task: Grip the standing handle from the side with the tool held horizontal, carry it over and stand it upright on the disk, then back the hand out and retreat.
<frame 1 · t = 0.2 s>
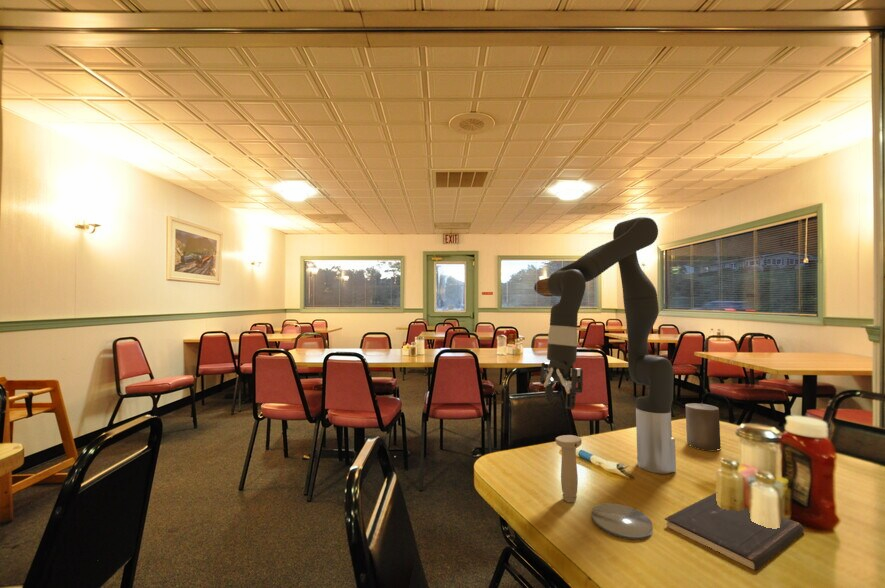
hand: (558, 405, 96), 22 cm above the table, tool pointing down, fingers open, 8 cm apart
disk: (621, 523, 81), on the table
hardcover book: (733, 533, 78), on the table
pillar candle: (703, 446, 127), on the table
handle: (569, 500, 91), on the table
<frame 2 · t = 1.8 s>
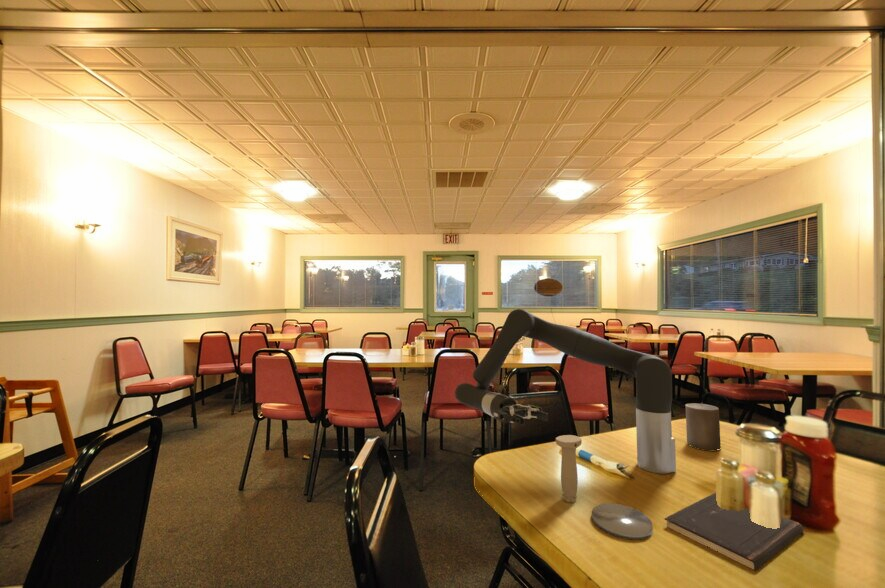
hand: (536, 419, 101), 17 cm above the table, tool horizontal, fingers open, 8 cm apart
nothing on the table moved.
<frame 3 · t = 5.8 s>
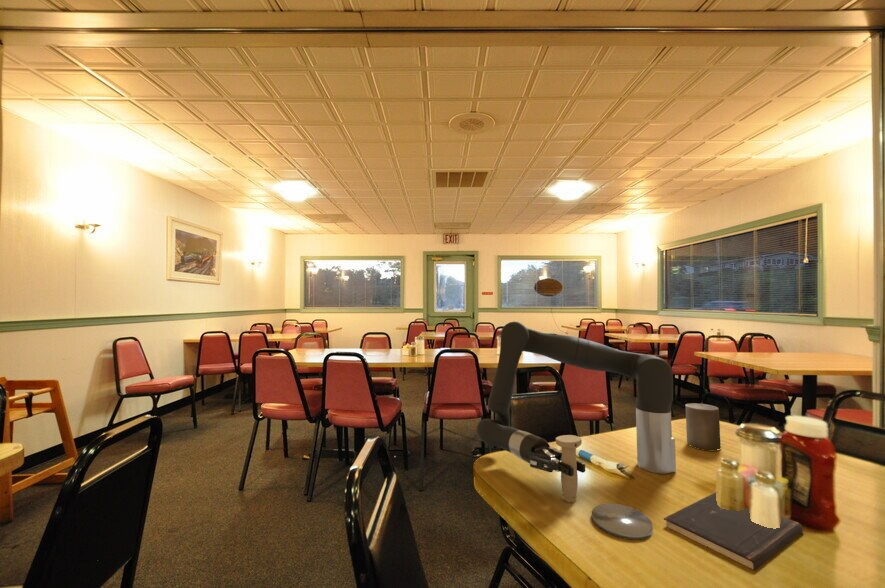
hand: (578, 470, 89), 8 cm above the table, tool horizontal, fingers closed on handle, 3 cm apart
handle: (569, 500, 91), on the table, touching gripper
everything else where it was.
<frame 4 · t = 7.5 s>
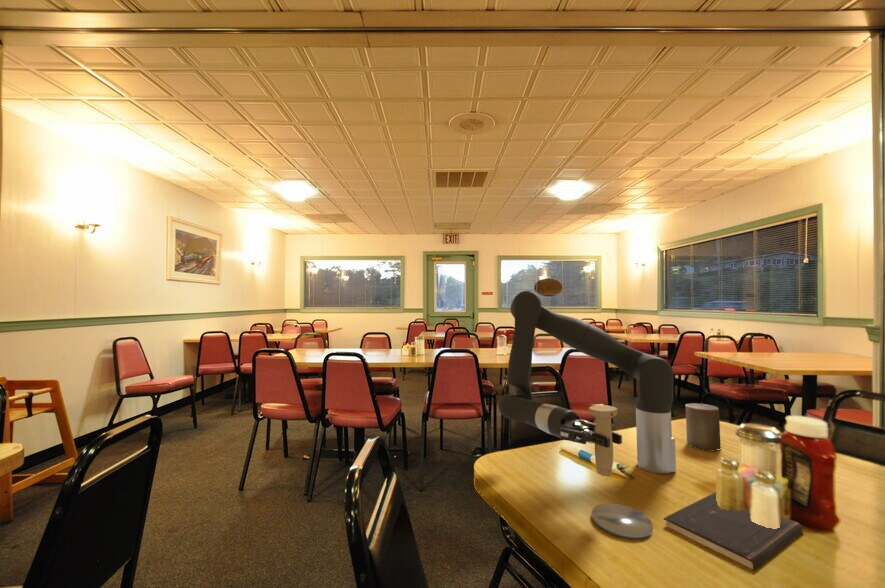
hand: (614, 441, 82), 18 cm above the table, tool horizontal, fingers closed on handle, 3 cm apart
handle: (604, 474, 84), point 9 cm above the table, touching gripper
everything else where it was.
when the fingers open (11 cm above the table, at t = 9.4 s): handle drops 1 cm, resting on disk.
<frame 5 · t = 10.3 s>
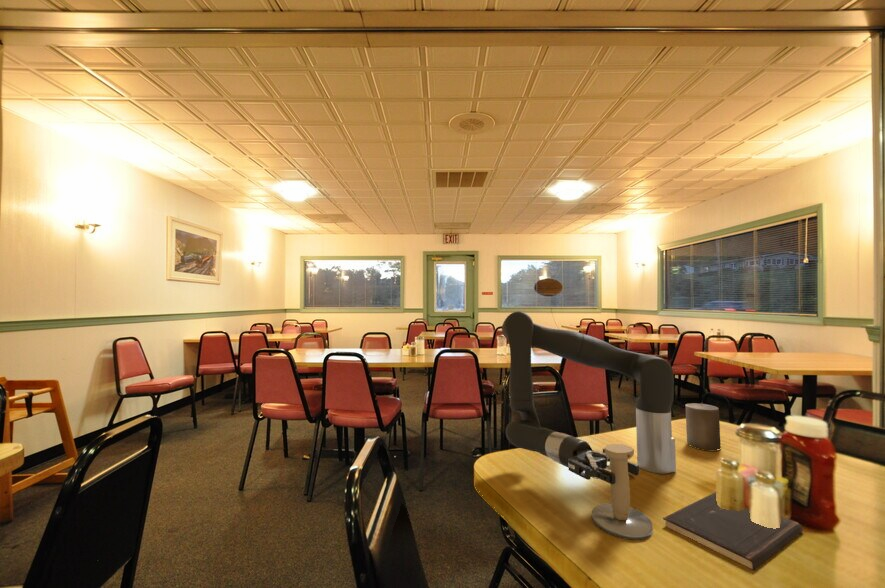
hand: (626, 475, 80), 11 cm above the table, tool horizontal, fingers open, 8 cm apart
handle: (620, 518, 81), point 1 cm above the table, touching disk
everything else where it was.
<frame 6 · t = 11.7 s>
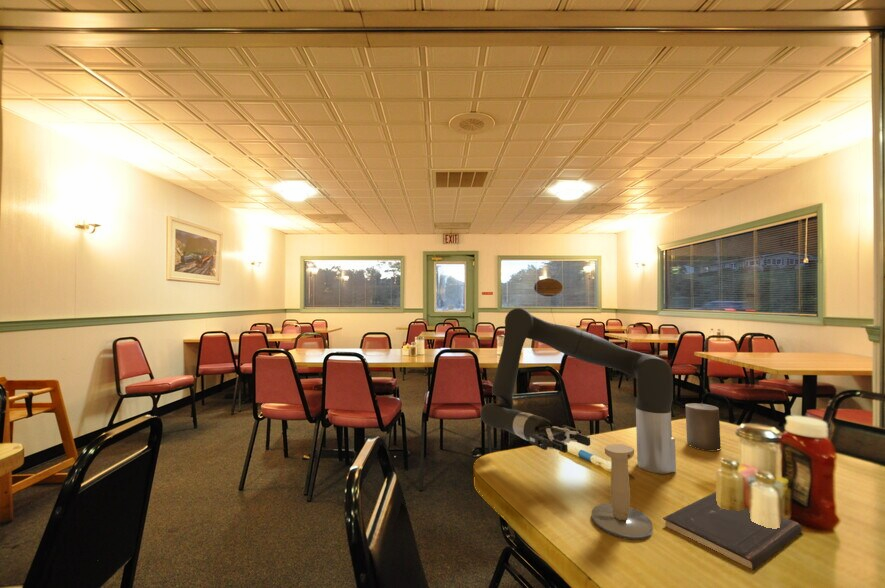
hand: (578, 445, 92), 13 cm above the table, tool horizontal, fingers open, 8 cm apart
nothing on the table moved.
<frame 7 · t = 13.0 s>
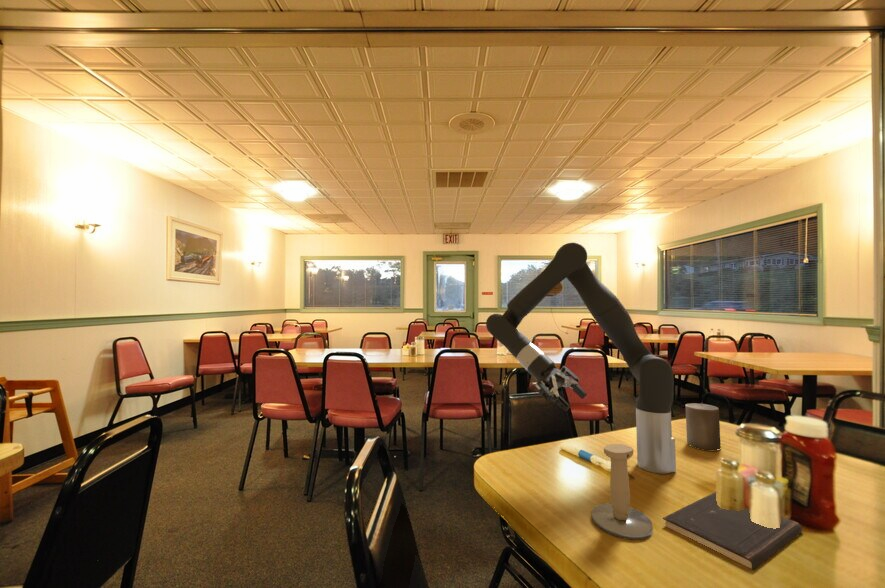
hand: (576, 402, 102), 21 cm above the table, tool tilted 50°, fingers open, 8 cm apart
nothing on the table moved.
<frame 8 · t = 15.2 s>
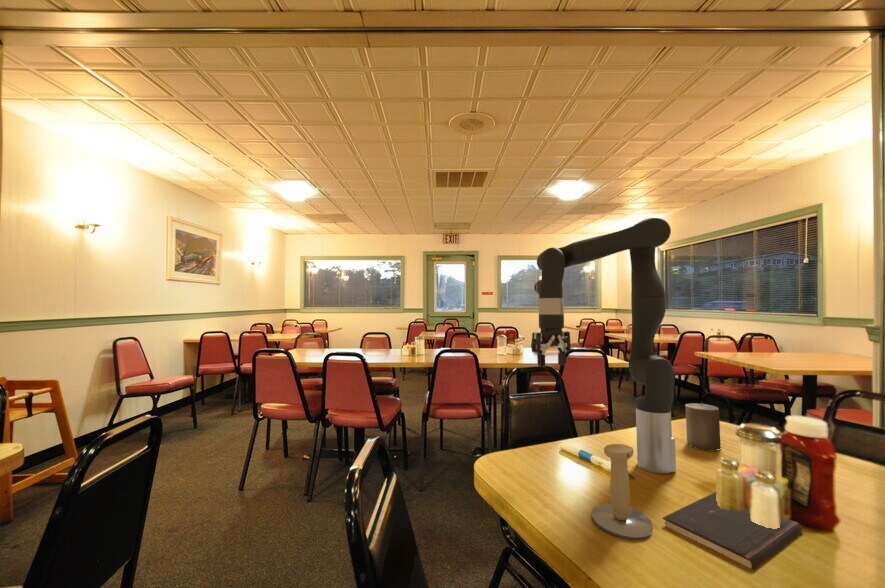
hand: (551, 366, 112), 30 cm above the table, tool pointing down, fingers open, 8 cm apart
nothing on the table moved.
at the end: handle inside the target area on the disk (0.1 cm from its centre), point 1.0 cm above the disk's base; handle tilted 0°; the gripper is holding nothing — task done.
